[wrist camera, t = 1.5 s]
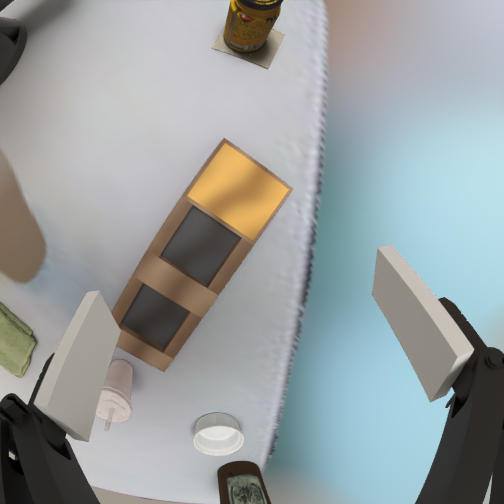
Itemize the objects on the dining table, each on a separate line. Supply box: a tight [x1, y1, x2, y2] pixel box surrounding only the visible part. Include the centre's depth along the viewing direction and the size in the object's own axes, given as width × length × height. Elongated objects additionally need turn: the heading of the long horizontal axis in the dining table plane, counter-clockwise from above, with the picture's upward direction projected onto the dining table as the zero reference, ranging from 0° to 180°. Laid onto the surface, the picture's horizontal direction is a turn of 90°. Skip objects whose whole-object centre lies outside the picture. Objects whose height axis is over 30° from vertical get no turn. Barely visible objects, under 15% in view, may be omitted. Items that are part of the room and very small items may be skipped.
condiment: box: [212, 0, 285, 68], centre depth 27 cm, size 7×8×12 cm
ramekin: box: [193, 413, 244, 456], centre depth 43 cm, size 9×9×4 cm
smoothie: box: [95, 359, 133, 431], centre depth 33 cm, size 6×6×14 cm
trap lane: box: [111, 138, 293, 372], centre depth 37 cm, size 11×32×2 cm, turn 145°
